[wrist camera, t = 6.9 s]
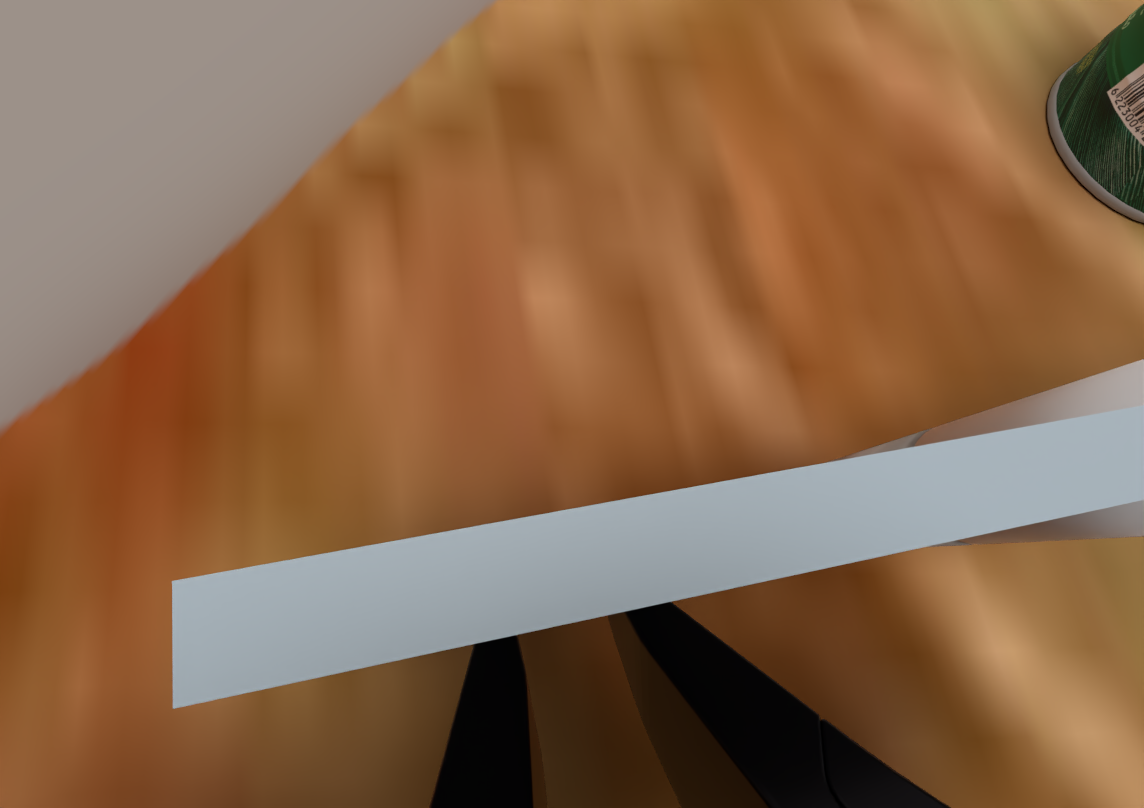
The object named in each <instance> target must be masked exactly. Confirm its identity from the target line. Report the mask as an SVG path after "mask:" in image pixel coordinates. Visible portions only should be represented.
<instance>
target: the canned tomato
mask: <svg viewBox="0 0 1144 808" xmlns="http://www.w3.org/2000/svg"><path fill="white" fill-rule="evenodd" d="M1047 120H1048V125H1049V129H1050V134H1051V137H1052V139H1053V141H1054V144H1055V146H1056V149H1057V151H1058V153H1059V154H1060V156H1061V158H1062V159H1063V161H1064V162H1065V164H1066V166H1067V167H1068V169H1069V170H1070V171H1071V172H1072V173H1073V175H1074V176H1075V177H1076V178H1077V179H1078V180H1079V182H1080V183H1081V184H1082V185H1083V186H1084V187H1085V188H1087V189H1088V190H1089V191H1090V192H1091V193H1092V194H1093V195H1094V196H1095V197H1097V198H1098V199H1099V200H1101V201H1102V202H1104V203H1105V204H1106V205H1108V206H1109V207H1111V208H1112V209H1114V210H1115V211H1117V212H1119V213H1121V214H1123V215H1125V216H1127V217H1129V218H1131V219H1133V220H1136V221H1139V222H1142V223H1144V4H1143V5H1142V6H1140V7H1139V8H1138V9H1137V10H1136V11H1134V12H1133V13H1132V14H1131V15H1130V16H1129V17H1128V18H1127V19H1126V20H1125V21H1124V22H1123V23H1122V24H1120V25H1119V26H1118V27H1116V28H1115V29H1114V30H1113V31H1112V32H1110V33H1109V34H1108V35H1107V36H1106V37H1105V38H1104V39H1103V40H1102V41H1101V42H1100V43H1099V44H1098V45H1097V46H1096V47H1094V48H1093V49H1092V50H1091V51H1090V52H1089V53H1088V54H1087V55H1086V56H1084V57H1083V58H1082V59H1081V60H1080V61H1079V62H1077V63H1075V64H1073V65H1072V66H1071V67H1069V68H1068V69H1067V70H1066V71H1065V72H1064V73H1062V74H1061V75H1060V76H1059V77H1058V79H1057V80H1056V82H1055V84H1054V85H1053V87H1052V88H1051V92H1050V95H1049V99H1048V103H1047Z"/></svg>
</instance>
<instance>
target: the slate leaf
mask: <svg viewBox="0 0 1144 808" xmlns="http://www.w3.org/2000/svg"><path fill="white" fill-rule="evenodd" d="M1140 536H1144V359H1143V360H1140V361H1137V362H1133V363H1130V364H1127V365H1124V366H1121V367H1118V368H1115V369H1112V370H1109V371H1106V372H1103V373H1100V374H1097V375H1093V376H1090V377H1087V378H1084V379H1081V380H1078V381H1075V382H1072V383H1069V384H1066V385H1063V386H1060V387H1057V388H1053V389H1050V390H1047V391H1044V392H1041V393H1038V394H1035V395H1032V396H1029V397H1026V398H1023V399H1020V400H1017V401H1013V402H1010V403H1007V404H1004V405H1001V406H998V407H995V408H992V409H989V410H986V411H983V412H980V413H977V414H973V415H970V416H967V417H964V418H961V419H958V420H955V421H952V422H949V423H946V424H943V425H940V426H937V427H934V428H932V429H930V430H929V431H927V432H926V433H924V434H923V435H922V436H921V437H920V438H919V440H918V441H917V442H916V444H915V446H914V447H910V448H905V449H899V450H894V451H888V452H883V453H877V454H872V455H866V456H860V457H855V458H849V459H844V460H838V461H833V462H827V463H822V464H816V465H811V466H805V467H800V468H794V469H789V470H783V471H778V472H772V473H767V474H761V475H756V476H750V477H744V478H739V479H733V480H728V481H722V482H717V483H711V484H706V485H700V486H695V487H689V488H684V489H678V490H673V491H667V492H662V493H656V494H651V495H645V496H640V497H634V498H628V499H623V500H617V501H612V502H606V503H601V504H595V505H590V506H584V507H579V508H573V509H568V510H562V511H557V512H551V513H546V514H540V515H535V516H529V517H524V518H518V519H512V520H507V521H501V522H496V523H490V524H485V525H479V526H474V527H468V528H463V529H457V530H452V531H446V532H441V533H435V534H430V535H424V536H419V537H413V538H408V539H402V540H397V541H391V542H385V543H380V544H374V545H369V546H363V547H358V548H352V549H347V550H341V551H336V552H330V553H325V554H319V555H314V556H308V557H303V558H297V559H292V560H286V561H281V562H275V563H269V564H264V565H258V566H253V567H247V568H242V569H236V570H231V571H225V572H220V573H214V574H209V575H203V576H198V577H192V578H187V579H181V580H176V581H172V621H173V709H175V708H179V707H184V706H188V705H193V704H198V703H202V702H207V701H212V700H216V699H221V698H226V697H230V696H235V695H240V694H244V693H249V692H254V691H258V690H263V689H267V688H272V687H277V686H281V685H286V684H291V683H295V682H300V681H305V680H309V679H314V678H319V677H323V676H328V675H332V674H337V673H342V672H346V671H351V670H356V669H360V668H365V667H370V666H374V665H379V664H384V663H388V662H393V661H398V660H402V659H407V658H411V657H416V656H421V655H425V654H430V653H435V652H439V651H444V650H449V649H453V648H458V647H463V646H467V645H472V644H476V643H481V642H486V641H490V640H495V639H500V638H504V637H509V636H514V635H518V634H523V633H528V632H532V631H537V630H542V629H546V628H551V627H555V626H560V625H565V624H569V623H574V622H579V621H583V620H588V619H593V618H597V617H602V616H607V615H611V614H616V613H620V612H625V611H630V610H634V609H639V608H644V607H648V606H653V605H658V604H662V603H667V602H672V601H676V600H681V599H686V598H690V597H695V596H699V595H704V594H709V593H713V592H718V591H723V590H727V589H732V588H737V587H741V586H746V585H751V584H755V583H760V582H765V581H769V580H774V579H778V578H783V577H788V576H792V575H797V574H802V573H806V572H811V571H816V570H820V569H825V568H830V567H834V566H839V565H843V564H848V563H853V562H857V561H862V560H867V559H871V558H876V557H881V556H885V555H890V554H895V553H899V552H904V551H909V550H913V549H918V548H922V547H927V546H932V545H936V544H941V543H946V542H950V541H955V540H957V541H960V542H963V543H968V544H998V543H1018V542H1039V541H1059V540H1079V539H1100V538H1120V537H1140Z"/></svg>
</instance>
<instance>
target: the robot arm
mask: <svg viewBox="0 0 1144 808" xmlns="http://www.w3.org/2000/svg"><path fill="white" fill-rule="evenodd" d="M608 618H609V623H610V627H611V630H612V633H613V636H614V639H615V642H616V645H617V648H618V651H619V654H620V657H621V660H622V663H623V666H624V669H625V672H626V675H627V678H628V681H629V684H630V687H631V690H632V693H633V696H634V699H635V702H636V705H637V708H638V711H639V713H640V716H641V719H642V721H643V724H644V726H645V729H646V731H647V733H648V736H649V738H650V740H651V742H652V745H653V747H654V749H655V751H656V753H657V755H658V758H659V760H660V762H661V764H662V766H663V768H664V771H665V773H666V775H667V777H668V779H669V781H670V783H671V786H672V788H673V790H674V792H675V794H676V796H677V799H678V801H679V803H680V805H681V807H682V808H951V807H949V806H948V805H946V804H945V803H943V802H941V801H940V800H938V799H937V798H935V797H934V796H932V795H931V794H929V793H928V792H926V791H925V790H923V789H922V788H920V787H919V786H917V785H916V784H914V783H913V782H911V781H910V780H908V779H907V778H905V777H904V776H902V775H901V774H899V773H898V772H896V771H895V770H893V769H892V768H890V767H889V766H887V765H886V764H885V763H883V762H882V761H881V760H879V759H878V758H876V757H875V756H874V755H872V754H871V753H870V752H868V751H867V750H865V749H864V748H863V747H861V746H860V745H859V744H857V743H856V742H854V741H853V740H852V739H850V738H849V737H848V736H846V735H845V734H844V733H842V732H841V731H840V730H839V729H837V728H836V727H835V726H833V725H832V724H831V723H829V722H828V721H827V720H825V719H822V720H821V721H820V716H819V715H818V714H817V713H816V712H815V711H813V710H812V709H811V708H809V707H808V706H807V705H805V704H804V703H803V702H802V701H800V700H799V699H798V698H796V697H795V696H794V695H792V694H791V693H790V692H788V691H787V690H786V689H784V688H783V687H782V686H781V685H779V684H778V683H777V682H775V681H774V680H773V679H771V678H770V677H769V676H767V675H766V674H765V673H763V672H762V671H761V670H760V669H758V668H757V667H756V666H754V665H753V664H752V663H750V662H749V661H748V660H746V659H745V658H744V657H743V656H741V655H740V654H739V653H737V652H736V651H735V650H733V649H732V648H731V647H729V646H728V645H727V644H725V643H724V642H723V641H722V640H720V639H719V638H718V637H716V636H715V635H714V634H712V633H711V632H710V631H708V630H707V629H706V628H704V627H703V626H702V625H701V624H699V623H698V622H697V621H695V620H694V619H693V618H691V617H690V616H689V615H687V614H686V613H685V612H683V611H682V610H681V609H680V608H678V607H677V606H676V605H674V604H673V603H672V602H667V603H662V604H658V605H653V606H648V607H644V608H639V609H634V610H630V611H625V612H620V613H616V614H611V615H608ZM429 808H547V798H546V788H545V778H544V770H543V762H542V755H541V750H540V744H539V739H538V734H537V729H536V723H535V718H534V713H533V707H532V702H531V697H530V691H529V686H528V681H527V675H526V670H525V665H524V660H523V656H522V652H521V648H520V644H519V639H518V635H514V636H509V637H504V638H500V639H495V640H490V641H486V642H481V643H476V644H474V646H473V650H472V653H471V657H470V660H469V664H468V668H467V671H466V675H465V679H464V682H463V686H462V689H461V693H460V697H459V700H458V704H457V707H456V711H455V715H454V718H453V722H452V726H451V729H450V733H449V736H448V740H447V744H446V747H445V751H444V755H443V758H442V762H441V765H440V769H439V773H438V776H437V780H436V784H435V787H434V791H433V794H432V798H431V802H430V805H429Z"/></svg>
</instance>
